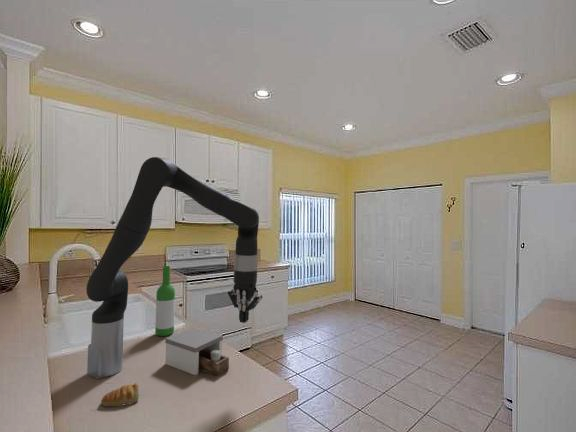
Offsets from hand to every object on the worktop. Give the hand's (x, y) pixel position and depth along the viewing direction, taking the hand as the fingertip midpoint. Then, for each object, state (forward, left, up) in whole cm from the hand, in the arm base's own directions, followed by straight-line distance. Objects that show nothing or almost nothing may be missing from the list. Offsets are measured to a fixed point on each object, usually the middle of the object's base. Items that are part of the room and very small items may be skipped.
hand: (243, 321), depth 98 cm
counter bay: (0, +22, -19) cm, 29 cm away
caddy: (0, +17, -19) cm, 25 cm away
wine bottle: (+12, +53, -19) cm, 58 cm away
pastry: (-27, +21, -19) cm, 39 cm away
